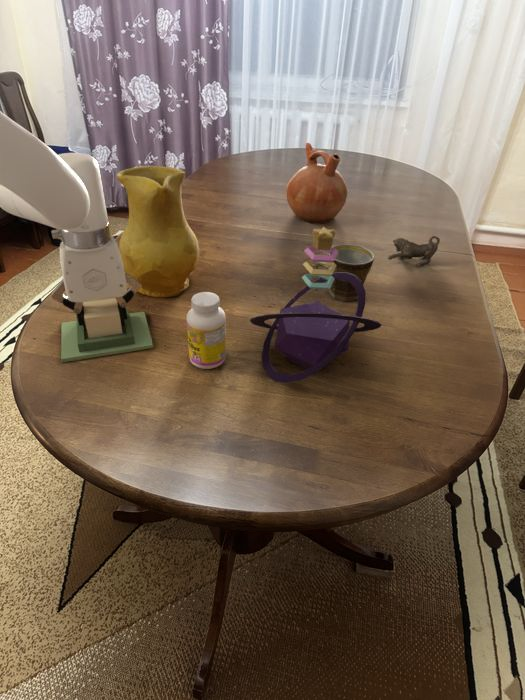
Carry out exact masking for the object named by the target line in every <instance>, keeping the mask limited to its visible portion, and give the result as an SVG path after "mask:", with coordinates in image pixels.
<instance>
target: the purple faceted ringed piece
mask: <svg viewBox="0 0 525 700" xmlns="http://www.w3.org/2000/svg"><path fill="white" fill-rule="evenodd" d="M312 236H313V239H312V246H309V247H306V249H303V251H304V252H305V254H306V255H307V257H309V258H310V260H307V261H305V262H303V263H302V265H303V266H304V268H305V269H306V270H307V271H308V272H309V273H307V274H304V275H303V276H301V279H302V280H303V281H304V282H305V284H306V286H305V287H303V288H302V289H301V290H299V291H298V292H297V293H296V294H295V295H294V296H293V297H292V298H290V300H289V301H288V302H287V303H286V304H285V305H284V307H283V308H282V307H281V308H280V310H279V313H267V314H262V315H257V316H253V317H251V318H250V319H249V322H250V323H251V324H252V325H254V326H257V327H261V328H264V329H268V332H267V335H266V337H265V339H264V342H263V346H262V352H261V363H262V369H263V371H264V373H265V375H266V377H267V378H269V379H271V380H272V381H274V382H275V383H282V384H290V383H295V382H299V381H302V380H304V379H306V378H308V377H310V376H312V375H314V374H316V373H317V372H319V371H320V370H321V369H323V368H324V367H326V366H327V365H328V364H329V363H331V362H332V360H334V359H336V358H338V357H339V356H341V355H342V354H344V353H345V352H347V351H349V348H350V346H349V345H350V340H351V338H352V337H353V336H354V334H355V333H363V332H364V333H365V332H369V331H374V330H377V329H379V328H381V327H382V323H380V322H379V321H377V320H374V319H371V318H367V317H363V314H364V310H365V306H366V289H365V285H363V283H362V281H361V280H360V279H359V278H358V277H357V276H356V275H354V274H351V273H348V272H336V273H333V272H334V270H335V267H336V264H335V263H334V262H333V261H334V260H335V258H336V256H337V254H338V251H337V250H336V249H335V248H332V247H333V242H334V239H335V236H336V229H327V228H326V227H325V226H323V227H322V228H320V229H319V228H313V229H312ZM319 251H321V252H324V253H327V255H326V254H325V255H323V254H322V255H321V254H314V253H317V252H319ZM328 253H330V254H331V255H330V256H328ZM316 264H319V266H320V265H321V266H323V267H326V268H328V267H329V270H328V269H322V268H321V269H320V268H318V269H316V268H313V266H316ZM314 278H317V279H316V280H313V281H311V280H312V279H314ZM338 279H342V280H345V281H348V282H350V283H351V284H352V285H353V286H354V287H355V289H356V292H357V296H358V298H357V307H356V311H355V313H354V315H347V314H342V313H340V312H338V311H337V310H335V309H333V308H331V307H329V306H327V305H325V304H324V303H322V302H320V301H318V300H317V301H312V302H307V303H303V304H298V305H294V303H296V301H297V300H299V299H300V298H301V297H302V296H303V295H304V294H306V293H307V292H310V290H329V288H331V285H332V283H333V281H334V280H338ZM301 301H302V302H303V300H301ZM293 305H294V306H293ZM269 320H274V321H273V323H272V324H270V323H268V322H266V321H269ZM351 322H352V323H351ZM359 324H362V325H363V326H360V327H358V326H359ZM275 330H276V331H277V332H276V339H275V344H274V345H275V346H274V349H276V350H277V351H278V352H280V354H282V355H283V357H285V358H286V359H287V360H288V361H289V362H292V363H293V364H296V365H298V366H301V367H302V368H305V370H303V371H299V372H295V373H283V372H280V371H278V370H277V369H275V368H274V365H273V364H272V362H271V359H270V349H271V348H270V347H271V342H272V338H273V336H274V334H275Z"/></svg>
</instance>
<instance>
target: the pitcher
mask: <svg viewBox="0 0 525 700" xmlns="http://www.w3.org/2000/svg"><path fill="white" fill-rule="evenodd" d="M186 174H187V173H186V171H183V170H182V169H179V168H176V167H172V166H159V165H143V166H141V165H140V166H135V167H134V166H133V167H130V168H126V169H123V170H120V171H119V172H117V173H116V179H117V180H118V181H119V183H120V184H121V185H122V186H123V187H124V189H125V191H126V195H127V201H128V221H127V224H126V227H125V229H124V230H123V231H122V233H121V236H120V238H119V243H118V248H119V251H120V254H121V258H122V263H123V267H124V271H125V272H127V273H128V274H130V275H131V276H133V277H134V278H136V279H137V280H138V281H140V282H141V286H142V287H141V288H140V290H139V291H138V292H137V293H140V294H141V295H146V296H148V297H154V298H155V297H156V298H170V297H171V298H172V297H176V296H178V295H180V294H181V293H183V292H185V291H186V289H187V288H188V287H189V286H190V283H189V282H190V279H189V275H190V274H191V273H192V272H193V271H195V270H196V269H197V265H198V262H199V261H198V260H199V257H200V247H199V241H198V237H197V236H196V234H195V232H194V231H193V230H192V228H191V227H190V225H189V223H188V220H187V219H186V217H185V212H184V208H183V207H184V206H183V200H182V186H183V182H184V181H185V178H186V176H187V175H186Z"/></svg>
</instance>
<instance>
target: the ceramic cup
mask: <svg viewBox="0 0 525 700" xmlns="http://www.w3.org/2000/svg"><path fill="white" fill-rule="evenodd" d="M332 248H335V249H336V250H337V251H338V254H337V256H336V258H335V260H334V261H333V262H334V263H335V264H336V267H335V270H334V272H333V273H336V272H348V273H351V274H354V275H356V276H357V277H358V278H359V279H360V280H361V281H362V283H363V286H365V285H364V284H365V282H366V280H367V277H368V275H369V273H370V272H371V270H372V269H371V268H372V266H373V263H374V261H375V253H373V252H372V251H371V250H369V249H368V248H366V247H364V246H360V245H357V244H345V243H344V244H337V245H333V246H332ZM330 255H331V254H330V253H327V256H330ZM319 266H320V264H316V265H315V269H319ZM327 270H329V267H327ZM328 290H329V294H330V296H331V297H332V298H333V299H335V300H338V301H342V302H352V301H356V300H358V296H357V292H356V289H355V287H354V286H353V285H352V284H351V283H350V282H348V281H345V280H342V279H338V280H334V281H333V283H332V285H331V288H329V289H328Z"/></svg>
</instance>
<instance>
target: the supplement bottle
mask: <svg viewBox="0 0 525 700" xmlns="http://www.w3.org/2000/svg"><path fill="white" fill-rule="evenodd" d="M220 303H221V302H220V297H219V295H217V294H216V293H214V292H212V291H211V292H210V291H201V292H198V293H195V294H194V295H192V297H191V299H190V304H191V305H190V306H191V308H190V309H189V310H188V312H187V314H186V328H187V329H186V330H187V344H188V359H189V361H190V363H191V364H192V365H193V366H195V367H196V368H198V369H203V370H210V369H215V368H218V367H219V366H221V365H222V364H224V362H225V360H226V354H227V353H226V352H227V350H226V349H227V347H226V345H227V344H226V343H227V342H226V339H227V337H226V336H227V335H226V313H225V311H224V310H223V308H222V307H220V305H221V304H220Z"/></svg>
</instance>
